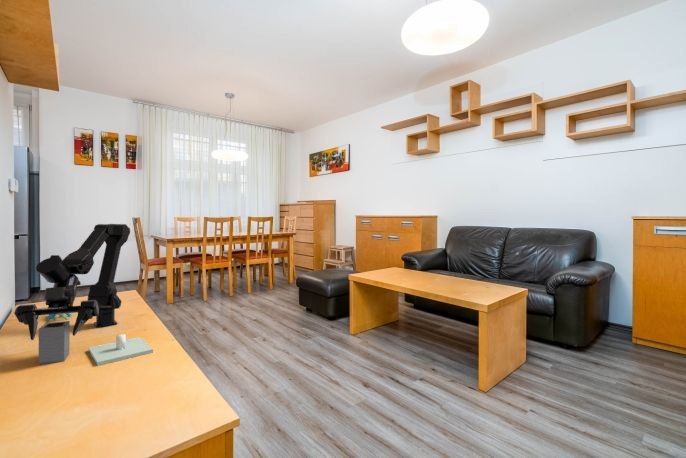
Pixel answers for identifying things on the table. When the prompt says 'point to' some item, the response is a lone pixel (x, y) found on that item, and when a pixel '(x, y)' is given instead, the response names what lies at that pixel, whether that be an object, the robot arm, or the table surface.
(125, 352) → the pin board
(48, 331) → the square open box
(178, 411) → the table surface
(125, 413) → the table surface
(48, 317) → the blue toy figurine
